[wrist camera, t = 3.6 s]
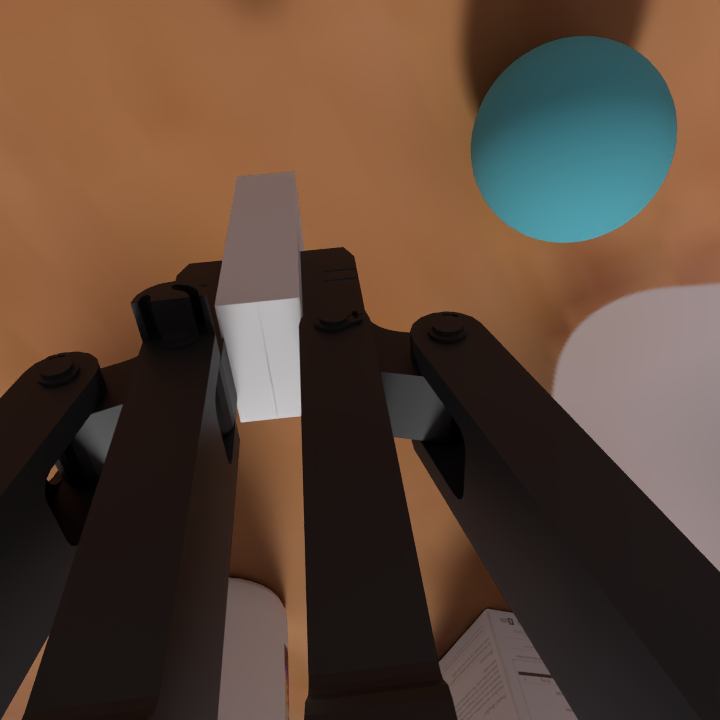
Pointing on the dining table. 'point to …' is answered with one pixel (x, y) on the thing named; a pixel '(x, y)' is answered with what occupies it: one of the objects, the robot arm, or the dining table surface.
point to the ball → (574, 139)
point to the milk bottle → (254, 655)
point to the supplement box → (501, 674)
